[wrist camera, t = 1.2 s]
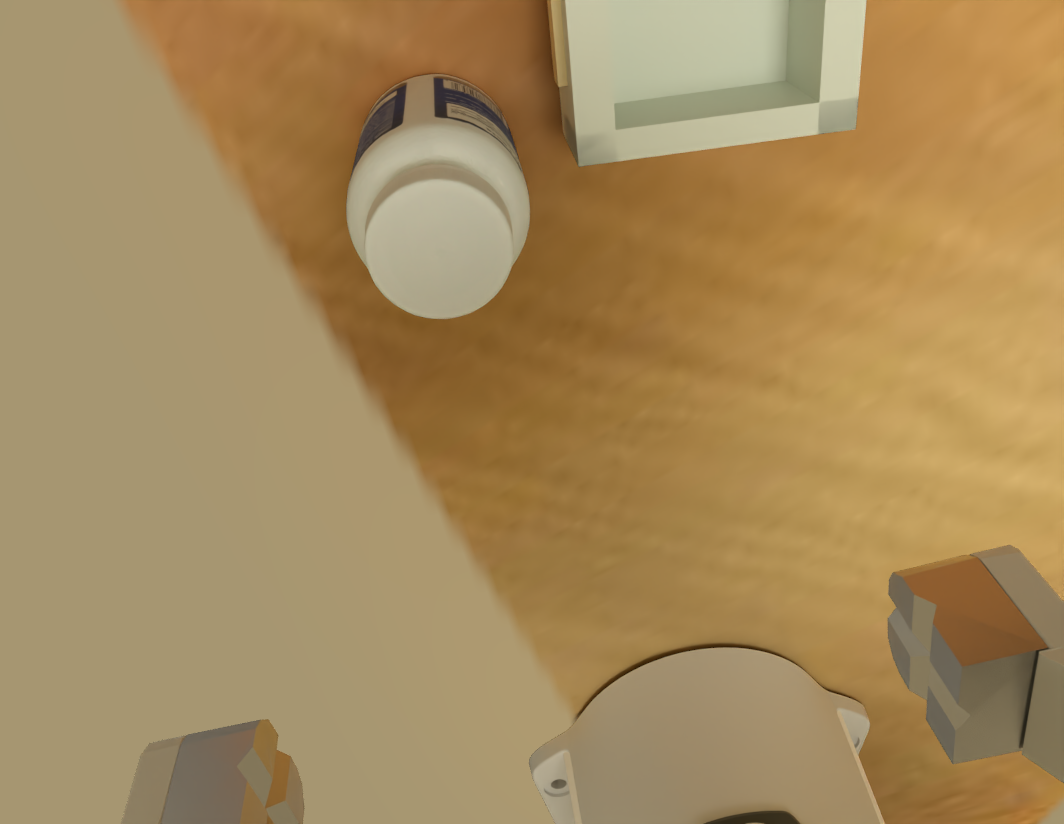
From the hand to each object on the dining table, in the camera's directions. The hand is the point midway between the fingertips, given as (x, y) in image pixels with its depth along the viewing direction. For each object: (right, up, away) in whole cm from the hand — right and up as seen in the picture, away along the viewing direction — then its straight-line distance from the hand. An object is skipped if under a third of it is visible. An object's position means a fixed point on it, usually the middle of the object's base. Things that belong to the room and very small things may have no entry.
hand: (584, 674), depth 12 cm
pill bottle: (-4, +13, +21) cm, 25 cm away
